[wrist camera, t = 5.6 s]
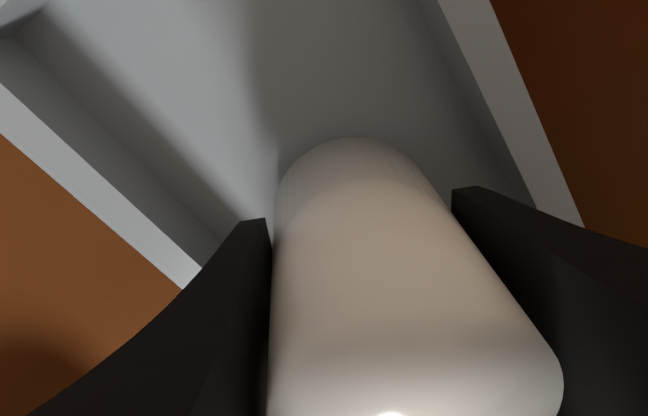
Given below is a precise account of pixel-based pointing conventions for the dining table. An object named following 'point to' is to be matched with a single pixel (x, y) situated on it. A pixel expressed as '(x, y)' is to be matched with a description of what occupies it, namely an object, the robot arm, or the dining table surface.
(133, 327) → the dining table surface
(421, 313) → the beige rounded lump
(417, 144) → the tray
